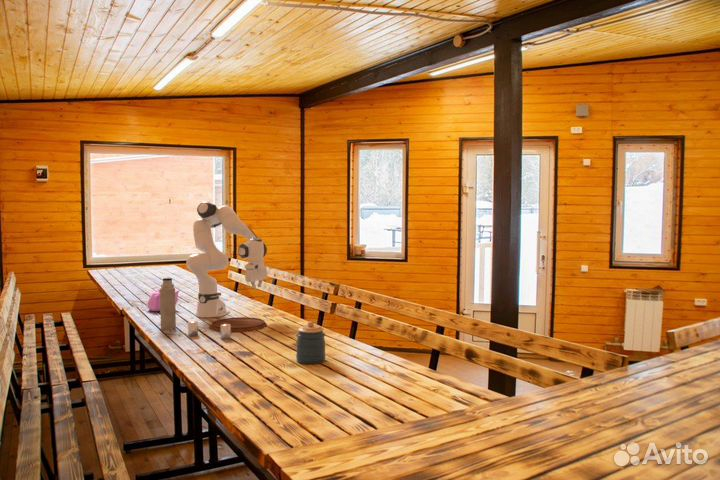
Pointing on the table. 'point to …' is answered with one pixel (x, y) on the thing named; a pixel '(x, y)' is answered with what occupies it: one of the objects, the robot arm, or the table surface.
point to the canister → (310, 344)
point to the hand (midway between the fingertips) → (256, 287)
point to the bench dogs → (194, 330)
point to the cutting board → (239, 324)
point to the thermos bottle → (167, 304)
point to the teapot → (158, 301)
